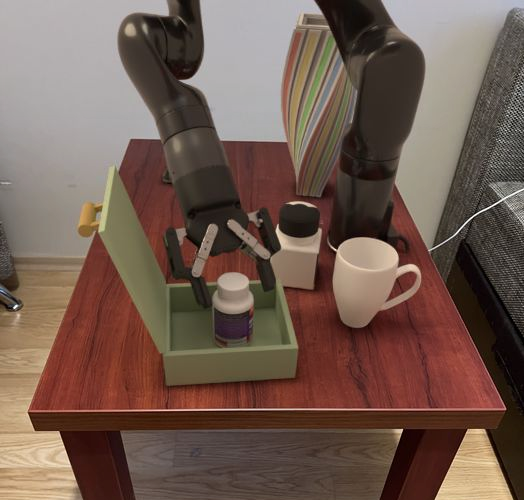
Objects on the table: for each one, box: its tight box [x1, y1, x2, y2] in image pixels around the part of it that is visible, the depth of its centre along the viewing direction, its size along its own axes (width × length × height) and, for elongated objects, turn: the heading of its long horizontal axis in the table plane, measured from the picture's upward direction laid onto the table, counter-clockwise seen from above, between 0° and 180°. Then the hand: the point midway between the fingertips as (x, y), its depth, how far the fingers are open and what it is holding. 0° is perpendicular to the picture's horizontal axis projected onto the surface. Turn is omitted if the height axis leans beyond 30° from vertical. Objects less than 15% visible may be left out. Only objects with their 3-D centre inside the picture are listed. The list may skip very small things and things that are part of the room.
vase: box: [280, 12, 357, 198], centre depth 99 cm, size 14×14×30 cm
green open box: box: [162, 279, 299, 387], centre depth 73 cm, size 17×15×5 cm
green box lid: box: [76, 165, 167, 355], centre depth 64 cm, size 17×15×4 cm
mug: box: [332, 237, 422, 329], centre depth 76 cm, size 12×8×11 cm
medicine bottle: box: [270, 201, 323, 291], centre depth 84 cm, size 7×7×12 cm
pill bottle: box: [212, 271, 254, 348], centre depth 71 cm, size 5×5×10 cm
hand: (239, 298), depth 68 cm, fingers open, 8 cm apart
